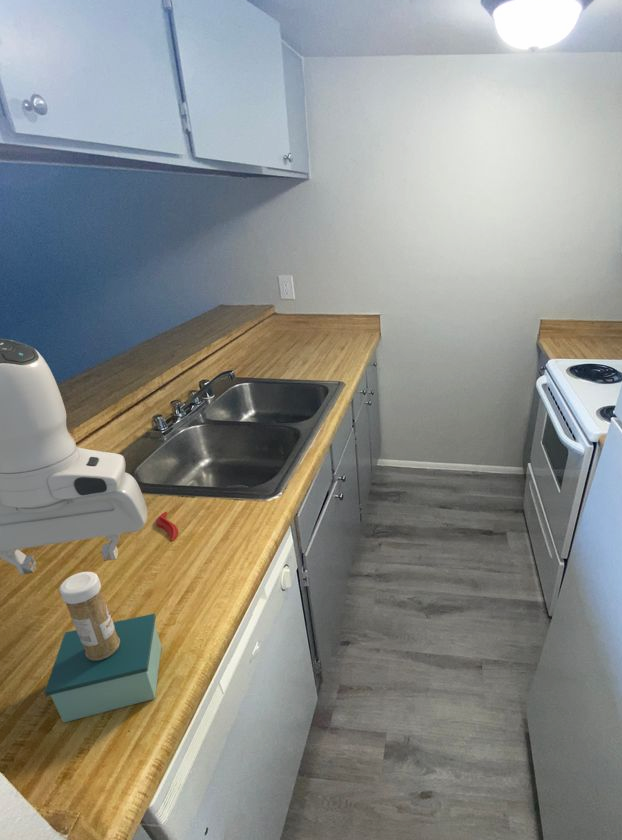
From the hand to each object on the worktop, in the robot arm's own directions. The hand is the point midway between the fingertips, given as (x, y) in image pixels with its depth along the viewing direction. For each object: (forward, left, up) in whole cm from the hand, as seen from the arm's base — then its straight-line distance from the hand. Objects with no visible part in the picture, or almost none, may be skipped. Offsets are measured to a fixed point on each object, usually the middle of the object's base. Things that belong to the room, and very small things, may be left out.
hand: (71, 564), depth 63 cm
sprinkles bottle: (0, 0, -17) cm, 17 cm away
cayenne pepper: (+4, +40, -24) cm, 47 cm away
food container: (0, 0, -24) cm, 24 cm away
